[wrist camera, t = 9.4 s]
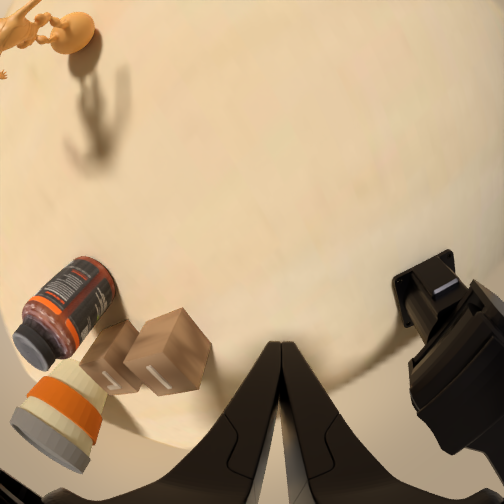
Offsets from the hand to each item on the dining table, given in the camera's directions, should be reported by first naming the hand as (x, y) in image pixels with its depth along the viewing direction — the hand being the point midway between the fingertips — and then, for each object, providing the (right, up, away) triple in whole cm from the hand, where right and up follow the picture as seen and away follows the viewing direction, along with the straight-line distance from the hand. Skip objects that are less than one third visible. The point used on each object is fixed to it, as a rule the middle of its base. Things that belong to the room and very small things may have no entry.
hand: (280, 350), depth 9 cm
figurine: (-15, +21, +6) cm, 26 cm away
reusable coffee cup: (-27, -16, +25) cm, 40 cm away
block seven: (-15, -7, +19) cm, 25 cm away
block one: (-8, -5, +18) cm, 20 cm away
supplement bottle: (-17, 0, +16) cm, 23 cm away
